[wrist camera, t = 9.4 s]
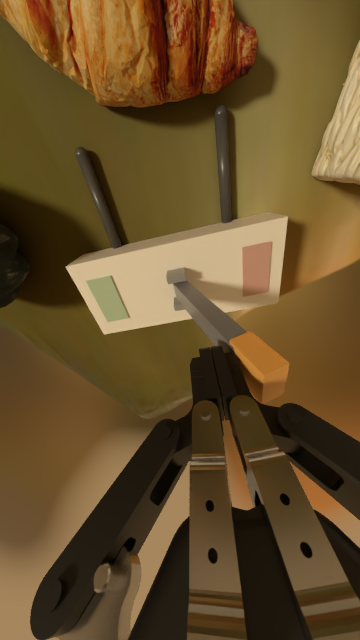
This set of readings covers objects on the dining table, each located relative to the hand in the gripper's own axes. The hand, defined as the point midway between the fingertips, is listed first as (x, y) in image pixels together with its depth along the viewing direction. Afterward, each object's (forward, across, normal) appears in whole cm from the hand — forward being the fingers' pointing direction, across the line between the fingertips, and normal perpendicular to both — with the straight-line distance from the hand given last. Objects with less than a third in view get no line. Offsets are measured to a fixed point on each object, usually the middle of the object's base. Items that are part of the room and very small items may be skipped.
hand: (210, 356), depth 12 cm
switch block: (+17, +2, -5) cm, 18 cm away
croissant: (+17, +2, -21) cm, 27 cm away
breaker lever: (+11, +2, 0) cm, 12 cm away
